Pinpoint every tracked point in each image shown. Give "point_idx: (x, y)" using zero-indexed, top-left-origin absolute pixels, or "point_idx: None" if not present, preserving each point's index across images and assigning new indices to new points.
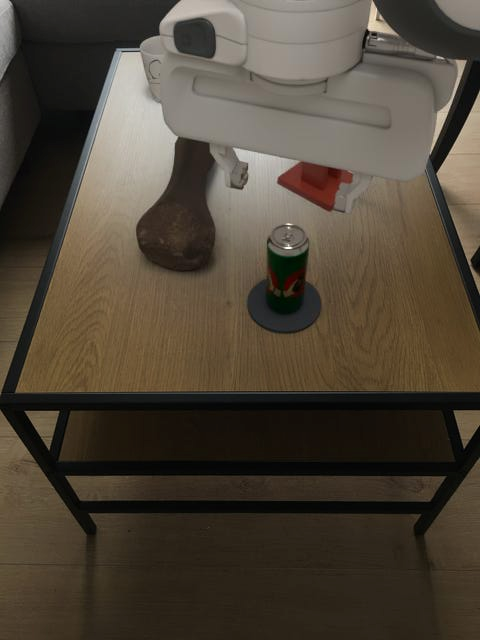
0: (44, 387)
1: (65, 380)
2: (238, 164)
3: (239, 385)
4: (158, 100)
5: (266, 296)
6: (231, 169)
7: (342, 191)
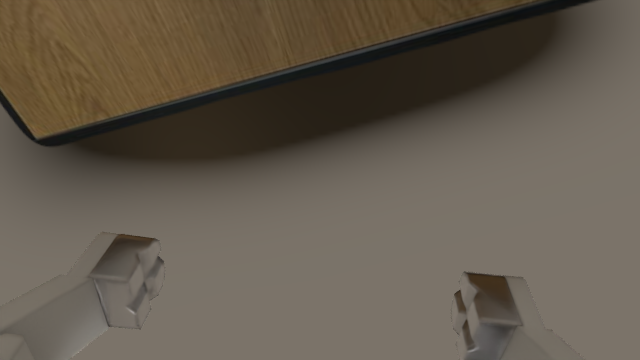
0: (60, 124)
1: (74, 109)
2: (102, 291)
3: (293, 56)
4: None
5: None
6: (100, 325)
7: (484, 350)
